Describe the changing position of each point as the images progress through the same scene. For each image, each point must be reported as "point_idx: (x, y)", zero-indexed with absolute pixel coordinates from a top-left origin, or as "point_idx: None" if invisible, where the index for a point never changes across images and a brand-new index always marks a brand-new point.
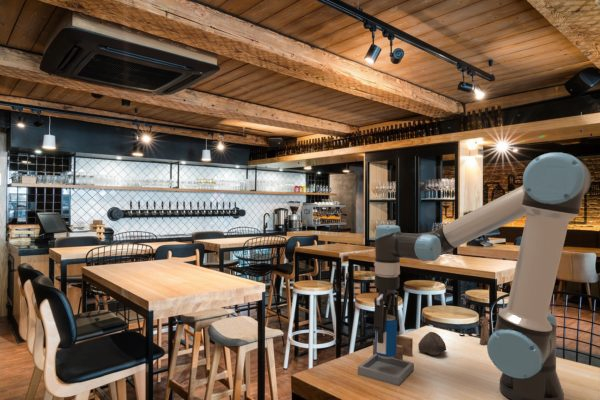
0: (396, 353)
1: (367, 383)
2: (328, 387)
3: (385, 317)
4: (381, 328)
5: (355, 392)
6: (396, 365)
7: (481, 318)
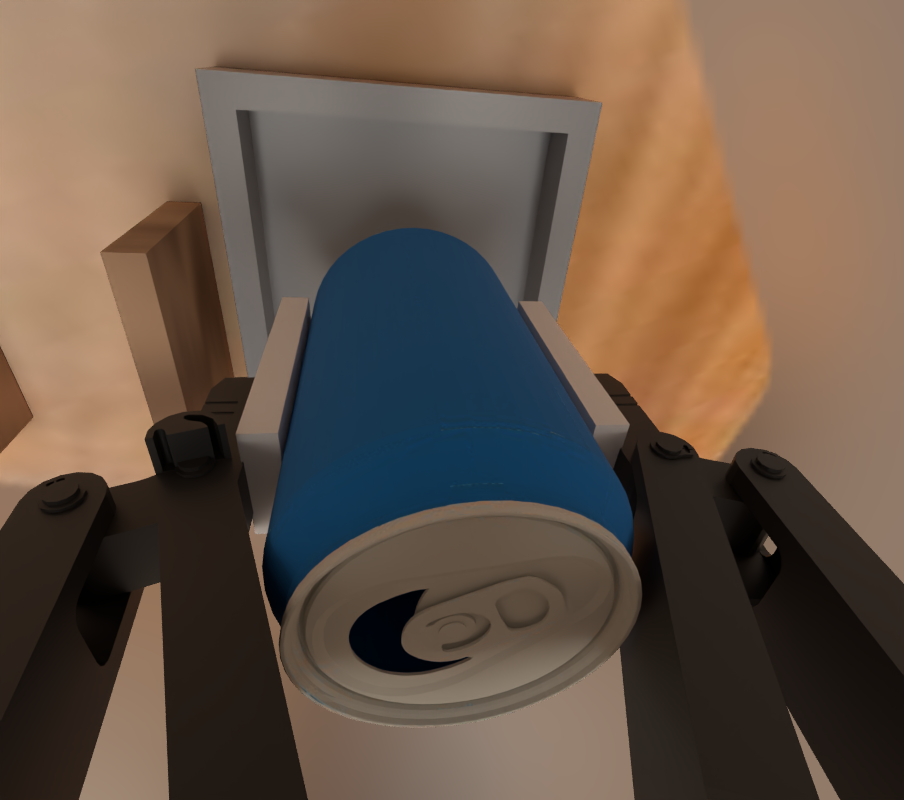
0: (387, 233)
1: (608, 298)
2: (714, 426)
3: (751, 627)
4: (806, 488)
5: (735, 307)
6: (262, 231)
7: None
